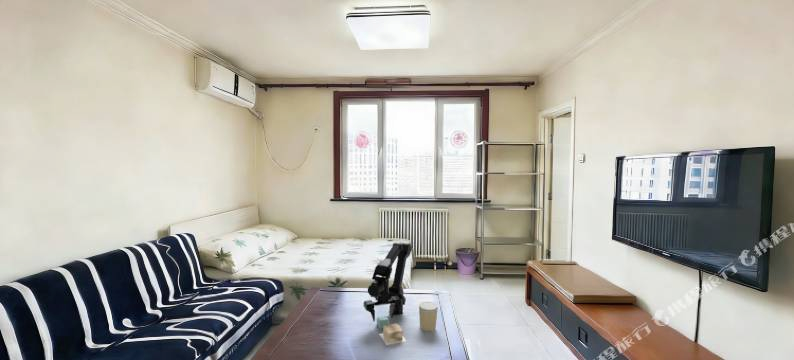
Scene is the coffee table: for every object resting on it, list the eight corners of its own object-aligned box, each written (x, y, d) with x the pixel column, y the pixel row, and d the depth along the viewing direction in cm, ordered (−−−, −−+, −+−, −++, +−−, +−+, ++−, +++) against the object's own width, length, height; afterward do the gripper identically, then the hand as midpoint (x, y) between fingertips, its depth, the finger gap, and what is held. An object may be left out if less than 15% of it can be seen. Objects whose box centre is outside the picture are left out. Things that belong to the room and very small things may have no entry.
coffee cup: (438, 326, 163) (439, 303, 162) (434, 335, 154) (435, 311, 153) (421, 322, 166) (421, 300, 165) (416, 331, 157) (416, 307, 156)
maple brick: (396, 332, 154) (397, 323, 154) (402, 339, 148) (402, 330, 147) (383, 335, 152) (383, 325, 151) (388, 342, 145) (388, 333, 145)
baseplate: (398, 332, 156) (398, 330, 156) (406, 343, 147) (406, 341, 147) (379, 335, 152) (379, 333, 152) (386, 347, 143) (386, 345, 143)
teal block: (385, 324, 163) (385, 315, 163) (388, 328, 159) (388, 319, 159) (376, 326, 162) (376, 316, 161) (379, 330, 157) (379, 320, 157)
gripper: (394, 281, 170) (394, 309, 171) (360, 285, 163) (360, 315, 164) (402, 289, 160) (402, 319, 161) (366, 294, 153) (366, 325, 154)
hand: (382, 319), depth 160 cm, fingers open, 9 cm apart
